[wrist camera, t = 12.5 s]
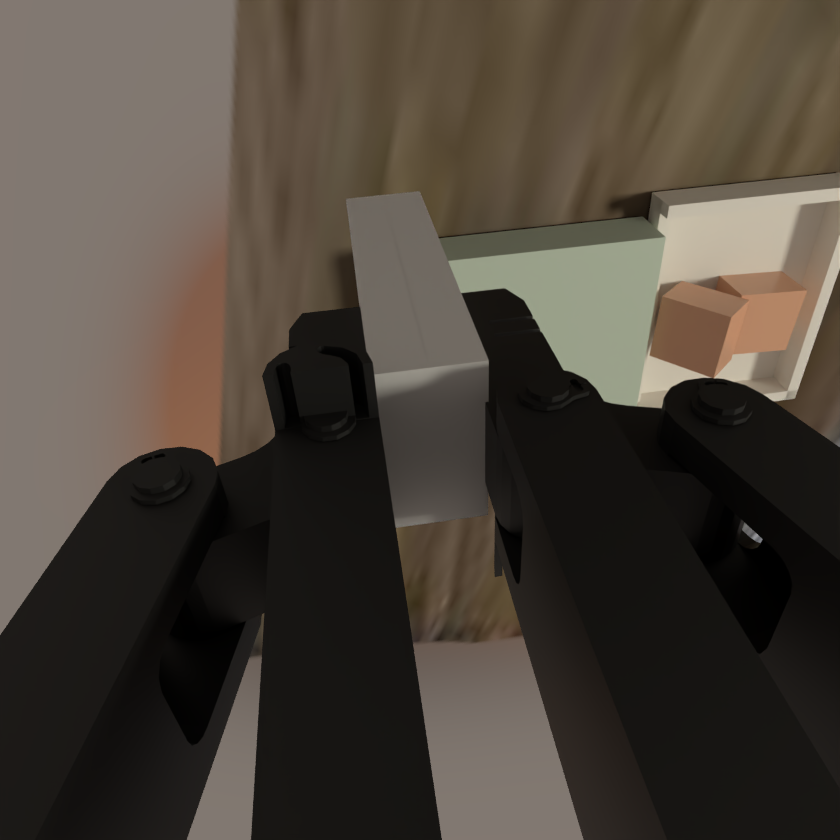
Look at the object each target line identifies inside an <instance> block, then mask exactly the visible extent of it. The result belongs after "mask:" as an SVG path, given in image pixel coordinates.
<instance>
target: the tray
mask: <svg viewBox="0 0 840 840" xmlns="http://www.w3.org/2000/svg"><path fill="white" fill-rule="evenodd" d="M648 222H649V223H651V224H652V225H653V226H654V227H655V228H656V229H657V230H658V231H660V232H661V233H662V234H663V235H664V236H665V237H666V239H665V245H664V251H663V257H662V263H661V268H660V274H659V280H658V286H657V292H656V298H655V303H654V309H653V315H652V321H651V327H650V333H649V338H648V344H647V350H646V356H645V362H644V367H643V373H642V379H641V385H640V391H639V397H638V402H637V406H640V407H653V408H662V404H663V399H664V396H665V395H666V393H667V392H668V391H669V389H670V388H671V387H672V386H674V385H676V384H678V383H680V382H682V381H684V380H691V379H697V378H711V377H708V376H705V375H702V374H700V373H697V372H694V371H691V370H688V369H686V368H683V367H680V366H677V365H674V364H672V363H669V362H666V361H663V360H660V359H658V358H655V357H652V356H649V355H650V350H651V346H652V341H653V337H654V332H655V328H656V323H657V319H658V314H659V309H660V305H661V300H662V296H663V295H665V294H666V293H667V292H668V291H670V290H671V289H672V288H674V287H675V286H676V285H677V284H679V283H680V282H681V281H685V282H688V283H692V284H695V285H699V286H702V287H706V288H709V289H713V290H716V286H717V283H718V279H719V276H722V275H736V274H749V273H762V272H776V271H782V272H783V273H785V274H786V275H787V276H789V277H790V278H792V279H793V280H794V281H796V282H797V283H798V284H800V285H801V286H802V287H804V288H805V289H806V290H807V293H806V295H805V298H804V301H803V304H802V306H801V309H800V312H799V315H798V318H797V320H796V323H795V326H794V329H793V331H792V334H791V337H790V340H789V342H788V345H787V348H786V350H779V351H767V352H756V353H744V354H733V355H732V359H731V361H730V362H729V363H728V364H727V365H726V366H725V367H724V368H723V369H722V370H721V371H720V372H719V373H718V374H717V375H716V376H715V377H714V378H720V379H726V380H729V381H733V382H737V383H740V384H744V385H746V386H748V387H750V388H752V389H754V390H756V391H758V392H760V393H762V394H763V395H765V396H766V397H768V398H769V399H771V400H772V401H780V400H788V399H795V396H796V393H797V390H798V388H799V385H800V382H801V379H802V376H803V373H804V370H805V367H806V364H807V361H808V359H809V356H810V353H811V350H812V347H813V344H814V341H815V338H816V335H817V332H818V330H819V327H820V324H821V321H822V318H823V315H824V312H825V309H826V306H827V303H828V301H829V298H830V295H831V292H832V289H833V286H834V283H835V280H836V277H837V274H838V272H839V269H840V173H832V174H823V175H813V176H804V177H794V178H785V179H775V180H765V181H756V182H746V183H737V184H727V185H718V186H708V187H699V188H689V189H679V190H670V191H660V192H652V197H651V204H650V210H649V217H648Z"/></svg>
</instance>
